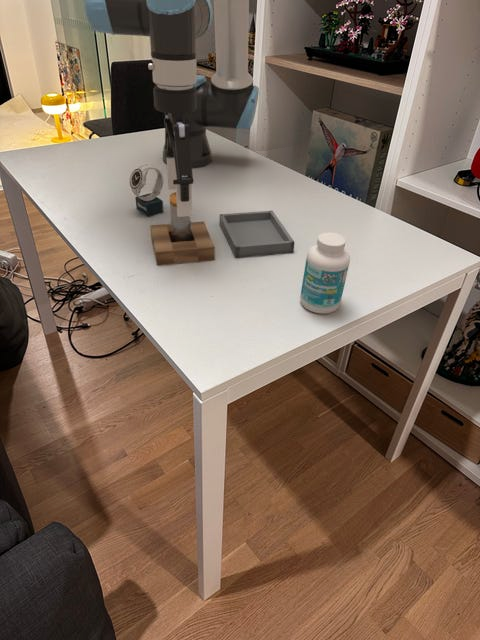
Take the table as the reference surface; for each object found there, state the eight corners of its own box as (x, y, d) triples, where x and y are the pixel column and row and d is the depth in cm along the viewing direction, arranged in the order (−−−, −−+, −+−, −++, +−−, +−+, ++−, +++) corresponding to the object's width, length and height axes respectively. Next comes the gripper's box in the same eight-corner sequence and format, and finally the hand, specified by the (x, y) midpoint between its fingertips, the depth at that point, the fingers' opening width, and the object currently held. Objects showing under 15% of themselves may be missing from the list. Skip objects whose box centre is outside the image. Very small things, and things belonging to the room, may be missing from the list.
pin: (171, 244, 101) (168, 192, 94) (189, 243, 102) (187, 191, 95) (173, 253, 98) (170, 200, 91) (192, 252, 99) (191, 199, 92)
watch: (129, 210, 114) (124, 166, 107) (157, 203, 118) (154, 160, 111) (141, 219, 110) (136, 174, 104) (169, 210, 115) (167, 166, 108)
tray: (219, 224, 110) (219, 214, 108) (271, 220, 113) (272, 210, 111) (235, 257, 98) (235, 247, 96) (293, 252, 100) (294, 242, 99)
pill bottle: (295, 309, 84) (304, 243, 76) (305, 288, 90) (314, 225, 81) (335, 319, 82) (349, 253, 74) (343, 297, 88) (357, 233, 79)
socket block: (151, 237, 103) (150, 225, 101) (204, 233, 106) (203, 221, 104) (156, 265, 94) (155, 252, 92) (214, 259, 97) (214, 247, 95)
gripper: (146, 72, 89) (154, 179, 102) (161, 102, 70) (168, 230, 83) (185, 72, 91) (188, 178, 103) (210, 101, 71) (209, 227, 84)
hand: (179, 201), depth 93 cm, fingers open, 13 cm apart
